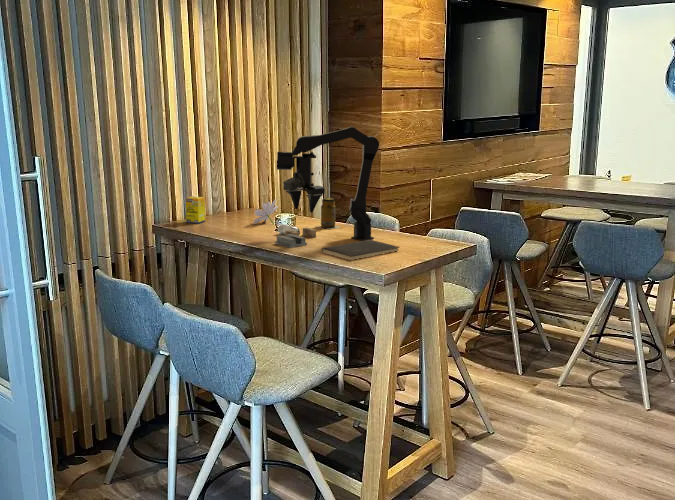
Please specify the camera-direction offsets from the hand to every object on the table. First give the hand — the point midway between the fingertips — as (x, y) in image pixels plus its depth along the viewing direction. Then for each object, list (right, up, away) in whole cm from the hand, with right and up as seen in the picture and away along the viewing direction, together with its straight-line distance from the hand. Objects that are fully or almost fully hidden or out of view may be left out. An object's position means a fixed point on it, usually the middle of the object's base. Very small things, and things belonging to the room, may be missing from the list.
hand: (303, 210), depth 261 cm
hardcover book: (+21, -17, -18) cm, 32 cm away
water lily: (-18, -4, +33) cm, 38 cm away
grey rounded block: (-1, -10, +4) cm, 11 cm away
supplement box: (-48, -3, +33) cm, 58 cm away
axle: (-6, -9, +9) cm, 14 cm away
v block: (-4, -13, -8) cm, 16 cm away
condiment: (+9, -6, +26) cm, 28 cm away
